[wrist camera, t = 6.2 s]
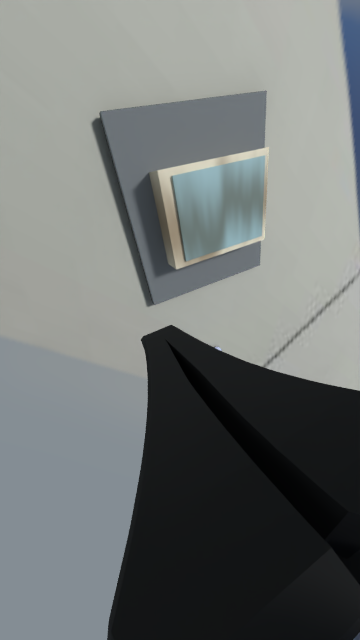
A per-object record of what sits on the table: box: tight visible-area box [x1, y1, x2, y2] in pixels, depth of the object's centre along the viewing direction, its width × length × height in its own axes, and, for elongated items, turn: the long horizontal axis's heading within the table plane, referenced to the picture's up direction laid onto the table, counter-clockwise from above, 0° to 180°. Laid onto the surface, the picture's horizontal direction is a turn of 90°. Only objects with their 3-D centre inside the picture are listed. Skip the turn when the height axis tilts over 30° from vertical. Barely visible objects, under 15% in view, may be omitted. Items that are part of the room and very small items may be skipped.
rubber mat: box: [99, 91, 267, 305], centre depth 16 cm, size 12×11×1 cm
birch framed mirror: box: [149, 147, 269, 270], centre depth 16 cm, size 6×2×8 cm
